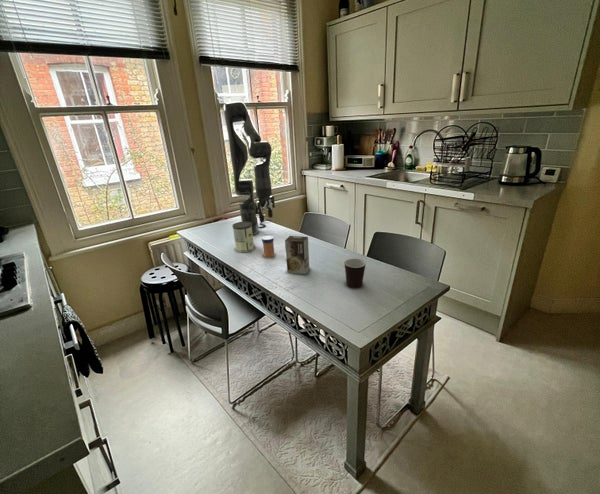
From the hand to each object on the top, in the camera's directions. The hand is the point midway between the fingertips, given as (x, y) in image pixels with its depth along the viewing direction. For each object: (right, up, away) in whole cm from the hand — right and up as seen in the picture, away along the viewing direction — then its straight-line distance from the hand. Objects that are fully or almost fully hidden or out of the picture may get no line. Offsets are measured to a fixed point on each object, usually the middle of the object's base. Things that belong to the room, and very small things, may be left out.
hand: (266, 219), depth 156 cm
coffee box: (+16, -25, -9) cm, 31 cm away
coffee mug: (+40, -30, -22) cm, 55 cm away
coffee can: (-14, -14, +18) cm, 27 cm away
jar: (+1, -18, +8) cm, 20 cm away
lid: (0, -9, +4) cm, 10 cm away
